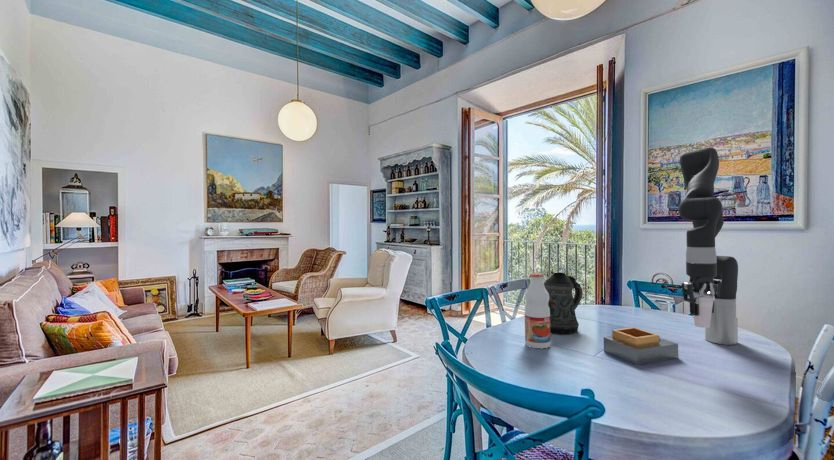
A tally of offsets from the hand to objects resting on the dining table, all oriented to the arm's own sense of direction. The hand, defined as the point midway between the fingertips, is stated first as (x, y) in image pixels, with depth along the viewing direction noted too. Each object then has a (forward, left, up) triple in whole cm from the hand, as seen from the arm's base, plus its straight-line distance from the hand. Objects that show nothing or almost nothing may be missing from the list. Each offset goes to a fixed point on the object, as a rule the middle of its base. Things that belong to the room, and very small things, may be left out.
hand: (702, 313), depth 111 cm
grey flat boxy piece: (+6, -16, -18) cm, 25 cm away
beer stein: (+13, -51, -18) cm, 56 cm away
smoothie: (0, 0, -4) cm, 4 cm away
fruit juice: (+35, -36, -18) cm, 54 cm away
